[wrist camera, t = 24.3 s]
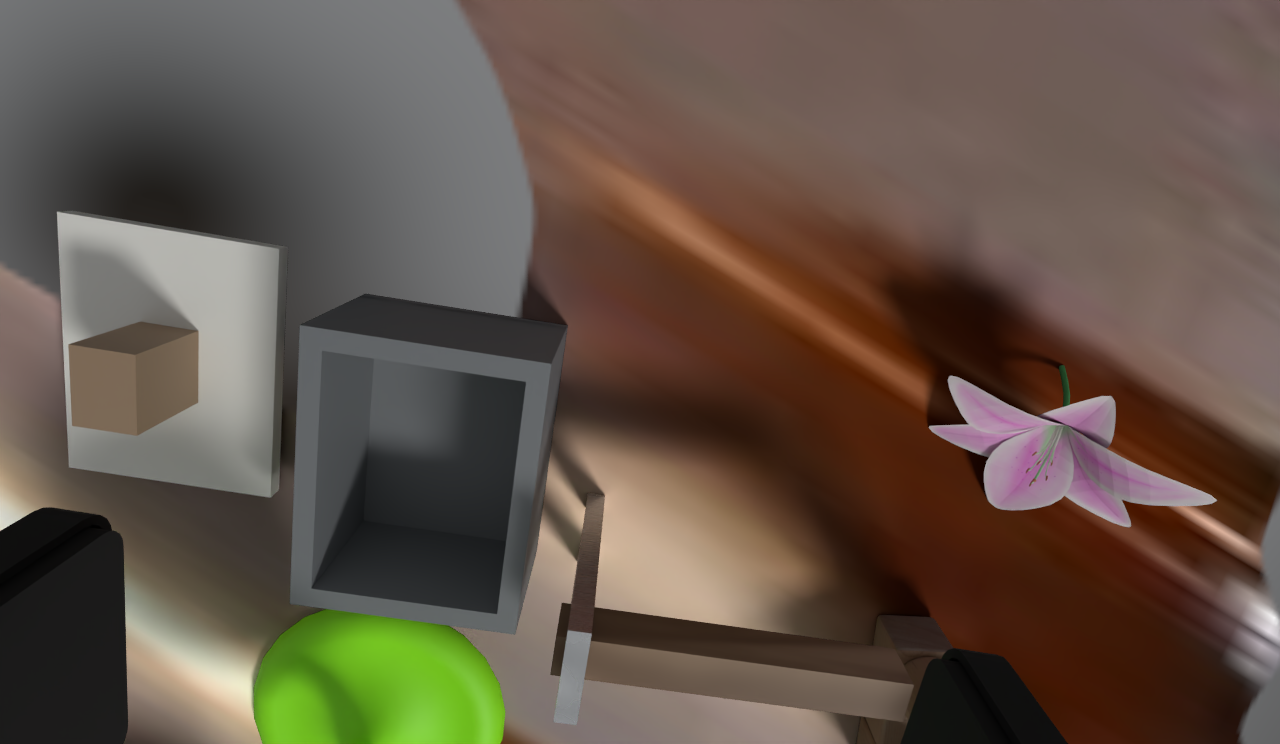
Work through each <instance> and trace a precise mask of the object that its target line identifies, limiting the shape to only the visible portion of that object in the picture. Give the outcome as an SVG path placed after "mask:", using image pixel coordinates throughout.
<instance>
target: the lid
mask: <svg viewBox="0 0 1280 744" xmlns="http://www.w3.org/2000/svg"><path fill="white" fill-rule="evenodd" d="M57 222H58V244H59V264H60V286H61V308H62V329H63V350H64V372H65V393H66V414H67V435H68V456H69V467H70V468H77V469H83V470H90V471H96V472H103V473H110V474H116V475H123V476H130V477H136V478H143V479H150V480H156V481H163V482H170V483H176V484H183V485H190V486H196V487H203V488H210V489H216V490H223V491H230V492H236V493H243V494H250V495H256V496H263V497H270V498H271V497H272V496H273V495H274V494H275V493H276V492H277V491H278V490H279V476H280V450H281V424H282V396H283V371H284V370H283V369H284V345H285V344H284V343H285V318H286V292H287V264H288V247H287V246H281V245H274V244H269V243H263V242H257V241H251V240H245V239H239V238H233V237H227V236H221V235H215V234H209V233H203V232H197V231H191V230H185V229H179V228H173V227H167V226H161V225H155V224H149V223H143V222H137V221H131V220H125V219H119V218H113V217H107V216H101V215H95V214H90V213H84V212H78V211H61V212H57Z"/></svg>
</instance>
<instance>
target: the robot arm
mask: <svg viewBox="0 0 1280 744" xmlns="http://www.w3.org/2000/svg"><path fill="white" fill-rule="evenodd" d="M127 728H128V705H127V666H126V627H125V587H124V548H123V540H122V537H121V535H120V534H119V533H117V532H116V531H112V529H111V525H110V523H109V521H108V520H107V518H105V517H103V516H101V515H96V514H90V513H83V512H77V511H70V510H64V509H58V508H41V509H39V510H36V511H34V512H32V513H30V514H29V515H27V516H25V517H24V518H22V519H20V520H18V521H17V522H15V523H13V524H12V525H10V526H8V527H7V528H5V529H3V530H1V531H0V744H123V743H124V740H125V737H126V733H127ZM900 744H1068V743H1067V742H1066V741H1065V739H1064V738H1063V737H1062V735H1061V734H1060V732H1059V731H1058V730H1057V728H1056V727H1055V726H1054V724H1053V723H1052V721H1051V720H1050V719H1049V717H1048V716H1047V715H1046V713H1045V712H1044V710H1043V709H1042V708H1041V706H1040V705H1039V704H1038V702H1037V701H1036V699H1035V698H1034V697H1033V695H1032V694H1031V692H1030V691H1029V690H1028V688H1027V687H1026V686H1025V684H1024V683H1023V681H1022V680H1021V679H1020V677H1019V676H1018V675H1017V673H1016V672H1015V670H1014V669H1013V668H1012V666H1011V665H1010V664H1009V662H1008V661H1007V660H1006V659H1005V658H1004V657H1001V656H999V655H995V654H988V653H982V652H975V651H969V650H963V649H956V648H952V649H949V650H947V651H946V652H945V653H944V654H943V656H942V658H941V659H937V658H936V659H932V660H931V661H930V662H929V664H928V666H927V668H926V671H925V673H924V676H923V679H922V682H921V685H920V688H919V691H918V694H917V697H916V700H915V703H914V705H913V708H912V711H911V714H910V717H909V720H908V723H907V726H906V729H905V732H904V735H903V738H902V740H901V743H900Z"/></svg>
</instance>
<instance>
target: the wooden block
mask: <svg viewBox="0 0 1280 744" xmlns="http://www.w3.org/2000/svg"><path fill="white" fill-rule="evenodd" d="M873 646H877V647H884V648H892V649H895V650H896V652H897V654H898V655H899V657H900V659H901V661H902V663H903V665H904V667H905V669H906V670H907V672H908V674H909V676H910V678H911V680H912V682H913V684H914V687H913V690H912V694H911V697H910V700H909V703H908V706H907V710H906V713H905V716H904V719H903V722H900V721H892V720H885V719H877V718H870V717H862V716H861V719H860V725H859V731H858V737H857V743H856V744H900V743H901V740H902V738H903V735H904V732H905V729H906V726H907V723H908V720H909V717H910V714H911V711H912V708H913V705H914V703H915V700H916V697H917V694H918V691H919V688H920V685H921V682H922V679H923V676H924V673H925V671H926V668H927V666H928V664H929V662H930V661H931V660H932V659H936V658H937V659H941V658H942V656H943V654H944V653H945V652H946V651H947V650H949V649H952V648H953V647H952V645H951V644H950V642H949V641H948V639H947V638H946V636H945V635H944V633H943V632H942V630H941V629H940V627H939V626H938V624H937V623H936V621H935V619H933V618H931V617H919V616H897V615H879V616H878V618H877V624H876V630H875V636H874V642H873Z"/></svg>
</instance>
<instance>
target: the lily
mask: <svg viewBox="0 0 1280 744" xmlns="http://www.w3.org/2000/svg"><path fill="white" fill-rule="evenodd" d="M1059 371H1060V375H1061V380H1062V386H1063V393H1064V396H1063V407H1062V408H1058V409H1055V410H1053V411H1050V412H1047V413H1044V414H1041V415H1038V416H1034V415H1031V414H1028V413H1026V412H1024V411H1021V410H1019V409H1017V408H1015V407H1013V406H1010V405H1008V404H1007V403H1005V402H1003V401H1001V400H999V399H997V398H996V397H994V396H992V395H990V394H988V393H987V392H985V391H983V390H981V389H980V388H978V387H976V386H974V385H973V384H971V383H969V382H967V381H965V380H963V379H961V378H959V377H955V376H951V375H950V377H949V378H948V384H949V389H950V392H951V394H952V397H953V399H954V402H955V403H956V405H957V407H958V409H959V411H960V413H961V415H962V416H963V417H964V419H965V420H966V421H967V423H968V424H967V425H937V426H929V428H930V430H931V431H932V432H933V433H935V434H937V435H938V436H940V437H941V438H943V439H945V440H947V441H949V442H951V443H953V444H955V445H957V446H960V447H962V448H964V449H967V450H969V451H971V452H974V453H977V454H980V455H983V456H986V457H989V458H988V460H987V461H986V465H985V469H984V486H985V492H986V496H987V499H988V500H989V502H990V503H991V504H992V505H994V506H995V507H996V508H999V509H1003V510H1026V509H1034V508H1040V507H1044V506H1047V505H1051V504H1053V503H1055V502H1056V501H1058V500H1060V499H1062V497H1063V496H1064V495H1065V496H1066V497H1067V498H1069V499H1070V500H1072V501H1073V502H1075V503H1076V504H1078V505H1080V506H1081V507H1083V508H1085V509H1087V510H1088V511H1090V512H1092V513H1094V514H1096V515H1098V516H1100V517H1102V518H1104V519H1106V520H1108V521H1110V522H1113V523H1116V524H1118V525H1121V526H1125V527H1130V526H1131V522H1130V519H1129V516H1128V513H1127V511H1126V509H1125V506H1124V504H1123V502H1122V500H1125V501H1128V502H1132V503H1139V504H1146V505H1160V506H1197V505H1205V504H1212V503H1214V502H1215V501H1217V500H1216V499H1215V498H1214V497H1212V496H1211V495H1209V494H1207V493H1204V492H1202V491H1200V490H1197V489H1195V488H1193V487H1190V486H1187V485H1185V484H1182V483H1180V482H1177V481H1174V480H1172V479H1169V478H1167V477H1164V476H1162V475H1159V474H1157V473H1154V472H1152V471H1149V470H1147V469H1145V468H1143V467H1141V466H1138V465H1136V464H1134V463H1132V462H1130V461H1128V460H1126V459H1124V458H1122V457H1120V456H1119V455H1117V454H1115V453H1113V452H1111V451H1109V450H1108V449H1106V448H1108V446H1109V445H1110V444H1111V441H1112V438H1113V435H1114V428H1115V416H1116V408H1115V401H1114V400H1113V398H1112V397H1111V396H1101V397H1097V398H1093V399H1089V400H1085V401H1082V402H1078V403H1075V404H1071V405H1070V391H1069V385H1068V379H1067V375H1066V370H1065V366H1064V365H1061V366H1059ZM1078 431H1079V432H1080V433H1082V434H1083V435H1084V436H1083V435H1082V434H1080V433H1079V432H1078ZM1085 436H1086V437H1085ZM1121 499H1122V500H1121Z"/></svg>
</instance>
